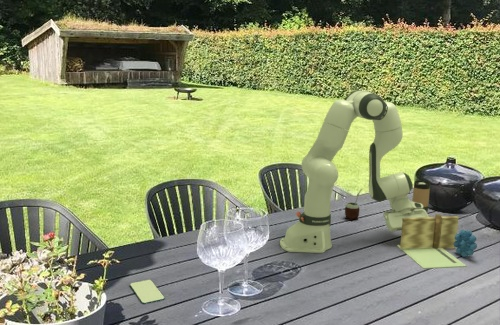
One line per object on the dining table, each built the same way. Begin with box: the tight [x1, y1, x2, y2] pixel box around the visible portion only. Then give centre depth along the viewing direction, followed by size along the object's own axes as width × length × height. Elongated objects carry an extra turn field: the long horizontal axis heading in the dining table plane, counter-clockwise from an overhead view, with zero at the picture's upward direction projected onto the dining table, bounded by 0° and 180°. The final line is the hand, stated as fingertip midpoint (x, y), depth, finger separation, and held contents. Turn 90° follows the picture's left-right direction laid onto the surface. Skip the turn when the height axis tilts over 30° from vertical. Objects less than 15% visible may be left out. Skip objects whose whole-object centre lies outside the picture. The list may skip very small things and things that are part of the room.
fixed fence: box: [432, 214, 460, 250], centre depth 218 cm, size 10×2×15 cm, turn 99°
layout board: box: [396, 244, 467, 270], centre depth 211 cm, size 18×24×1 cm
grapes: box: [453, 229, 478, 258], centre depth 210 cm, size 12×7×12 cm, turn 22°
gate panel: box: [399, 216, 436, 250], centre depth 216 cm, size 14×2×13 cm, turn 99°
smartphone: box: [129, 279, 166, 305], centre depth 176 cm, size 8×1×16 cm
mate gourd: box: [344, 188, 363, 222], centre depth 255 cm, size 8×8×15 cm
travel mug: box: [411, 180, 431, 213], centre depth 252 cm, size 8×8×20 cm
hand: (414, 237), depth 219 cm, fingers closed
